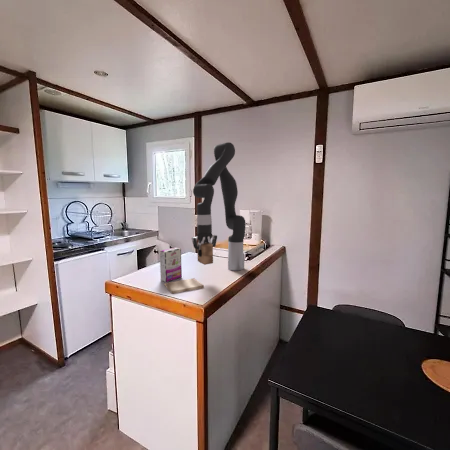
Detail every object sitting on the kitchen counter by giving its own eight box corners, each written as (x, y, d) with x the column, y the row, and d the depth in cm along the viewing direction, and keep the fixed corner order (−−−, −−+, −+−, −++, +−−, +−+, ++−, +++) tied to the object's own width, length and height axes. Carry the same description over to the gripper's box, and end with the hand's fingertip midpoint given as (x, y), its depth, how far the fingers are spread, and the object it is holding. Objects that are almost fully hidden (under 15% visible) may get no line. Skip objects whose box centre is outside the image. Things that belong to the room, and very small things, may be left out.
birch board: (194, 280, 136) (194, 278, 136) (203, 287, 126) (203, 285, 126) (164, 285, 128) (164, 283, 128) (172, 293, 118) (172, 291, 118)
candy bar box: (175, 275, 144) (175, 247, 142) (182, 277, 141) (181, 248, 139) (159, 280, 135) (159, 250, 133) (166, 282, 132) (165, 251, 130)
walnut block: (206, 259, 138) (205, 241, 137) (213, 263, 131) (212, 244, 130) (197, 261, 136) (197, 242, 134) (204, 264, 129) (203, 245, 127)
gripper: (213, 221, 137) (213, 252, 140) (188, 223, 130) (189, 256, 132) (220, 223, 131) (220, 255, 133) (194, 225, 124) (195, 259, 126)
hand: (205, 255), depth 133 cm, fingers closed on walnut block, 5 cm apart
